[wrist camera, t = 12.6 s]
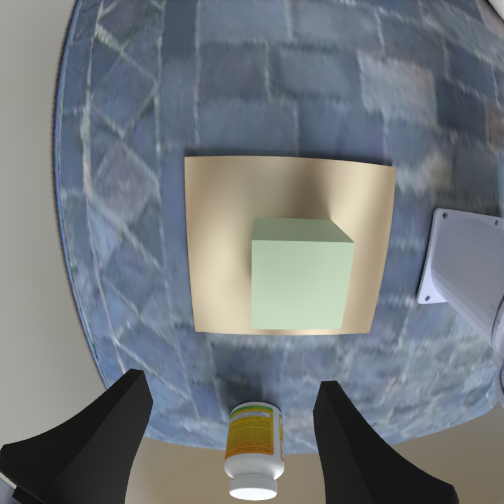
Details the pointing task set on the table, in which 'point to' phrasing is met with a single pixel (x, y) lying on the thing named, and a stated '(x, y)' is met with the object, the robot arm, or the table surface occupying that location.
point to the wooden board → (280, 206)
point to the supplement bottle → (254, 450)
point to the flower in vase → (498, 6)
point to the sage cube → (299, 273)
